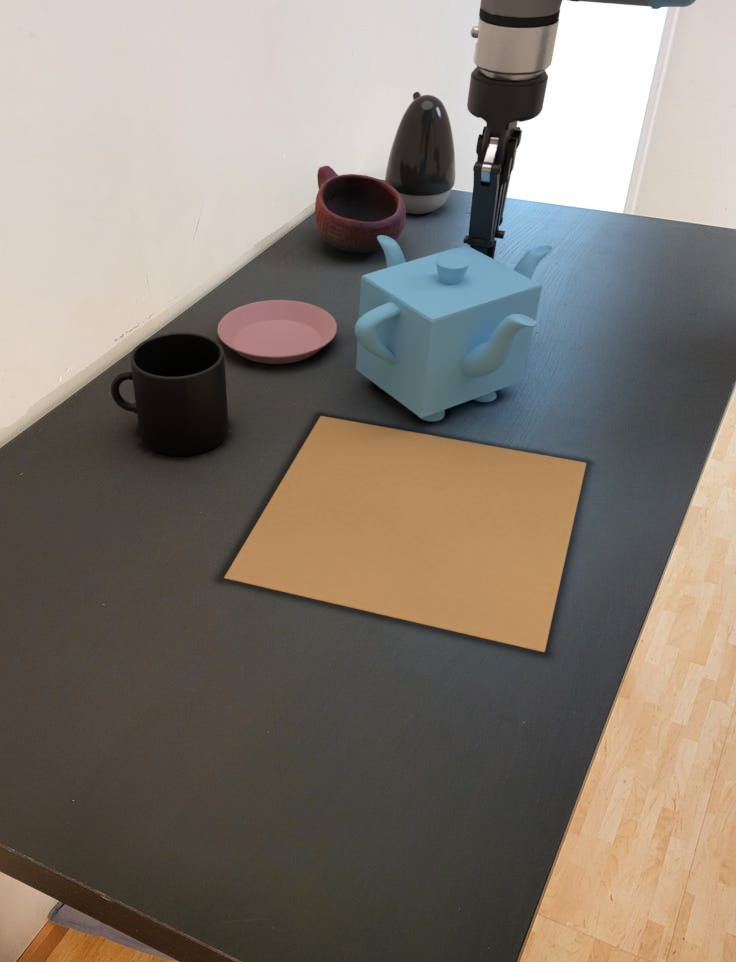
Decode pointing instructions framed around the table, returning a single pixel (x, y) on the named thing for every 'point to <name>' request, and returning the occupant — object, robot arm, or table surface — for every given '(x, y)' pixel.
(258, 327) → the plate
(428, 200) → the dark brown tall dome
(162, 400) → the mug
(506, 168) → the robot arm
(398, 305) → the teakettle
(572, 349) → the table surface
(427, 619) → the trivet mat
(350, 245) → the bowl
